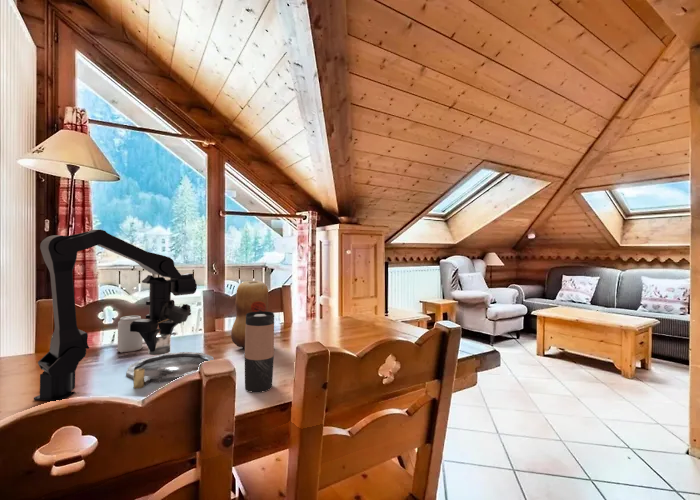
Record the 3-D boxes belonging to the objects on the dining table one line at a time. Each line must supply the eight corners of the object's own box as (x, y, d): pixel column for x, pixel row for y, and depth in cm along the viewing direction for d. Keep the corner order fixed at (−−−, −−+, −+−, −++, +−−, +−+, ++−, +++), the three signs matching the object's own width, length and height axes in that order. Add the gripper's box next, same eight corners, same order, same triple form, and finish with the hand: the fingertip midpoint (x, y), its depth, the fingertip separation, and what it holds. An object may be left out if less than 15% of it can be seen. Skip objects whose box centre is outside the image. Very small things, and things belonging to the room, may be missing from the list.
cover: (162, 355, 103) (162, 338, 103) (143, 354, 104) (143, 337, 104) (174, 349, 109) (174, 333, 109) (156, 348, 110) (156, 332, 110)
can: (130, 354, 119) (131, 319, 119) (111, 353, 120) (112, 318, 120) (147, 348, 126) (148, 315, 126) (129, 346, 128) (130, 314, 128)
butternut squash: (239, 356, 120) (241, 283, 120) (225, 346, 131) (227, 280, 130) (276, 349, 129) (277, 281, 129) (260, 341, 140) (261, 278, 139)
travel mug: (275, 382, 99) (276, 311, 98) (270, 393, 91) (271, 317, 91) (248, 381, 99) (249, 310, 98) (240, 393, 91) (242, 316, 91)
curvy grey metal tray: (178, 393, 89) (179, 374, 89) (93, 388, 91) (93, 369, 91) (226, 358, 117) (226, 343, 117) (160, 355, 119) (160, 340, 119)
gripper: (166, 303, 96) (165, 359, 97) (201, 294, 115) (200, 341, 115) (128, 301, 97) (127, 357, 98) (168, 292, 116) (167, 339, 116)
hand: (159, 348), depth 107 cm, fingers closed on cover, 6 cm apart
